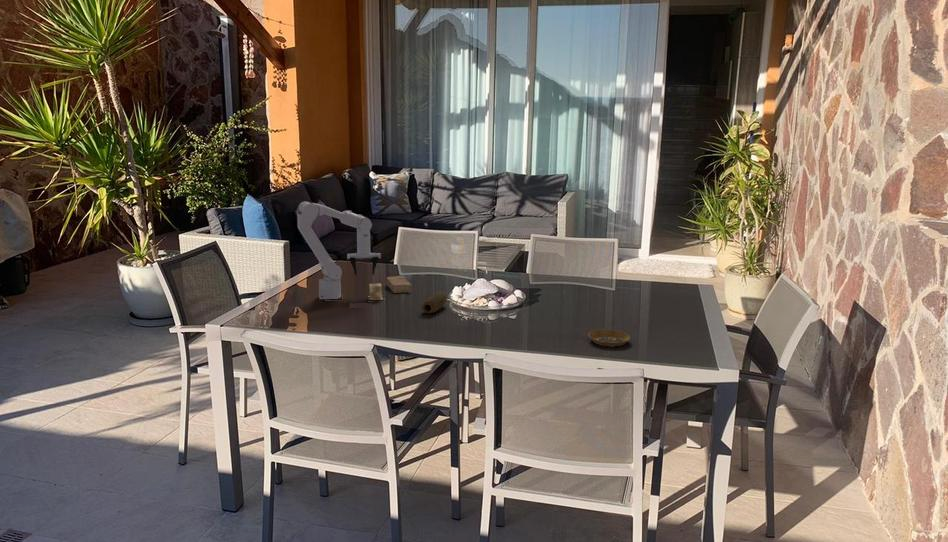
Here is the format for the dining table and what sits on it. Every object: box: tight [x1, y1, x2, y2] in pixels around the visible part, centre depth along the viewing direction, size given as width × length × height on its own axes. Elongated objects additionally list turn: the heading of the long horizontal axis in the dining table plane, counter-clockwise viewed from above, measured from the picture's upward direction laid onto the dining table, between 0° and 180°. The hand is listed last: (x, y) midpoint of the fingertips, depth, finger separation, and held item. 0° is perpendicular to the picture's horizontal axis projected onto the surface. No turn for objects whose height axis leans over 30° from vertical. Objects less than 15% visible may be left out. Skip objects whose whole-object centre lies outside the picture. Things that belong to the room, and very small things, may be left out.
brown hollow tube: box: [420, 291, 448, 314], centre depth 303 cm, size 15×7×7 cm, turn 165°
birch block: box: [368, 283, 383, 300], centre depth 318 cm, size 5×5×6 cm
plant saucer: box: [588, 329, 631, 348], centre depth 265 cm, size 15×15×3 cm
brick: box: [386, 275, 412, 294], centre depth 337 cm, size 17×8×5 cm, turn 19°
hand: (364, 274), depth 324 cm, fingers open, 7 cm apart
